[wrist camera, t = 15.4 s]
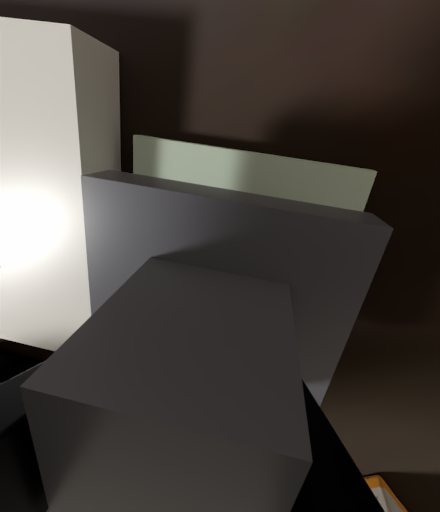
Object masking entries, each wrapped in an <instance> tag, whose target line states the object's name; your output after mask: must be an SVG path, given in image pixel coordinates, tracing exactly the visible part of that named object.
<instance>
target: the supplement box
mask: <svg viewBox="0 0 440 512" xmlns="http://www.w3.org/2000/svg"><path fill="white" fill-rule="evenodd" d="M364 479H365V480H366V482H367V484H368V485H369V487H370V488H371V490H372V492H373V493H374V495H375V497H376V498H377V500H378V501H379V503H380V505H381V506H382V508H383V509H384V511H385V512H407V510H406V509H405V507H404V506H403V505H402V504H401V502H400V501H399V500H398V499H397V497H396V496H395V495H394V493H393V492H392V491H391V489H390V488H389V487H388V485H387V484H386V483H385V481H384V480H383V479H382V477H381V476H379V475H374V476H366V477H364Z"/></svg>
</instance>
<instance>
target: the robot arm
mask: <svg viewBox="0 0 440 512" xmlns="http://www.w3.org/2000/svg"><path fill="white" fill-rule="evenodd" d="M44 362H45V361H44ZM44 362H42V363H41V362H37V361H33V360H29V359H25V358H21V357H17V356H13V355H9V354H5V353H1V352H0V512H46V511H47V509H48V503H47V499H46V495H45V491H44V487H43V482H42V478H41V474H40V470H39V466H38V461H37V457H36V453H35V449H34V445H33V440H32V436H31V432H30V428H29V424H28V419H27V415H26V411H25V407H24V403H23V398H22V394H21V390H20V386H21V385H22V384H23V383H24V382H25V381H26V380H27V379H28V378H29V377H30V376H31V375H32V374H33V373H34V372H35V371H36V370H37V369H38V368H39V367H40V366H41V365H42V364H43V363H44ZM302 385H303V393H304V400H305V408H306V415H307V423H308V431H309V438H310V446H311V453H312V461H313V463H312V465H311V467H310V469H309V471H308V474H307V476H306V478H305V480H304V482H303V485H302V487H301V489H300V491H299V493H298V496H297V498H296V500H295V502H294V504H293V507H292V509H291V511H290V512H385V511H384V509H383V508H382V506H381V505H380V503H379V501H378V500H377V498H376V497H375V495H374V493H373V492H372V490H371V488H370V487H369V485H368V484H367V482H366V480H365V479H364V477H363V476H362V474H361V472H360V471H359V469H358V468H357V466H356V464H355V463H354V461H353V459H352V458H351V456H350V455H349V453H348V451H347V450H346V448H345V447H344V445H343V443H342V442H341V440H340V439H339V437H338V435H337V434H336V432H335V431H334V429H333V427H332V426H331V424H330V422H329V421H328V419H327V418H326V416H325V414H324V413H323V411H322V410H321V408H320V406H319V405H318V403H317V402H316V400H315V398H314V397H313V395H312V393H311V392H310V390H309V389H308V387H307V385H306V384H305V382H304V381H303V379H302Z"/></svg>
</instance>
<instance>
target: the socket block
mask: <svg viewBox="0 0 440 512" xmlns="http://www.w3.org/2000/svg"><path fill="white" fill-rule="evenodd" d="M106 170H115V171H121V142H120V86H119V52H118V51H116V50H114V49H113V48H111V47H109V46H107V45H105V44H104V43H102V42H100V41H98V40H97V39H95V38H93V37H91V36H90V35H88V34H86V33H84V32H83V31H81V30H79V29H77V28H76V27H74V26H72V25H70V24H62V23H53V22H44V21H35V20H25V19H16V18H7V17H0V338H2V339H6V340H10V341H14V342H18V343H22V344H27V345H31V346H35V347H39V348H43V349H47V350H51V351H56V350H57V349H58V348H59V347H60V346H61V345H62V344H63V343H64V342H65V341H66V340H67V339H68V338H69V337H70V336H71V335H72V334H73V333H74V332H75V331H76V330H77V329H78V328H79V327H80V326H81V325H82V324H83V323H84V322H85V321H86V320H87V319H88V318H89V317H91V306H90V292H89V279H88V266H87V253H86V239H85V226H84V213H83V199H82V186H81V175H86V174H91V173H96V172H101V171H106Z"/></svg>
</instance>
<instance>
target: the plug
mask: <svg viewBox="0 0 440 512" xmlns="http://www.w3.org/2000/svg"><path fill="white" fill-rule="evenodd" d="M81 186H82V199H83V213H84V226H85V239H86V253H87V266H88V279H89V292H90V306H91V317H89V318H88V319H87V320H86V321H85V322H84V323H83V324H82V325H81V326H80V327H79V328H78V329H77V330H76V331H75V332H74V333H73V334H72V335H71V336H70V337H69V338H68V339H67V340H66V341H65V342H64V343H63V344H62V345H61V346H60V347H59V348H58V349H57V350H56V351H55V352H54V353H53V354H52V355H51V356H50V357H49V358H48V359H47V360H46V361H45V362H44V363H43V364H42V365H41V366H40V367H39V368H38V369H37V370H36V371H35V372H34V373H33V374H32V375H31V376H30V377H29V378H28V379H27V380H26V381H25V382H24V383H23V384H22V385H21V386H20V390H21V394H22V398H23V403H24V407H25V411H26V415H27V419H28V424H29V428H30V432H31V436H32V440H33V445H34V449H35V453H36V457H37V461H38V466H39V470H40V474H41V478H42V482H43V487H44V491H45V495H46V499H47V503H48V508H49V512H290V511H291V509H292V507H293V504H294V502H295V500H296V498H297V496H298V493H299V491H300V489H301V487H302V485H303V482H304V480H305V478H306V476H307V474H308V471H309V469H310V467H311V465H312V463H313V461H312V453H311V446H310V438H309V431H308V423H307V415H306V408H305V400H304V393H303V385H302V379H303V381H304V382H305V384H306V385H307V387H308V389H309V390H310V392H311V393H312V395H313V397H314V398H315V400H316V402H317V403H318V405H319V406H320V405H321V403H322V400H323V398H324V396H325V393H326V391H327V388H328V386H329V383H330V381H331V379H332V376H333V374H334V371H335V369H336V367H337V364H338V362H339V359H340V357H341V355H342V352H343V350H344V347H345V345H346V342H347V340H348V338H349V335H350V333H351V330H352V328H353V326H354V323H355V321H356V318H357V316H358V313H359V311H360V309H361V306H362V304H363V301H364V299H365V297H366V294H367V292H368V289H369V287H370V285H371V282H372V280H373V277H374V275H375V272H376V270H377V268H378V265H379V263H380V260H381V258H382V256H383V253H384V251H385V248H386V246H387V244H388V241H389V239H390V236H391V234H392V231H393V228H392V227H391V226H389V225H388V224H386V223H385V222H384V221H382V220H381V219H380V218H378V217H377V216H375V215H374V214H373V213H368V212H362V211H356V210H350V209H344V208H338V207H332V206H326V205H320V204H314V203H308V202H302V201H296V200H290V199H284V198H278V197H272V196H266V195H260V194H254V193H248V192H242V191H236V190H230V189H224V188H218V187H212V186H206V185H200V184H194V183H188V182H182V181H176V180H170V179H164V178H158V177H152V176H146V175H140V174H133V173H127V172H121V171H115V170H106V171H101V172H96V173H91V174H86V175H81Z"/></svg>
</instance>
